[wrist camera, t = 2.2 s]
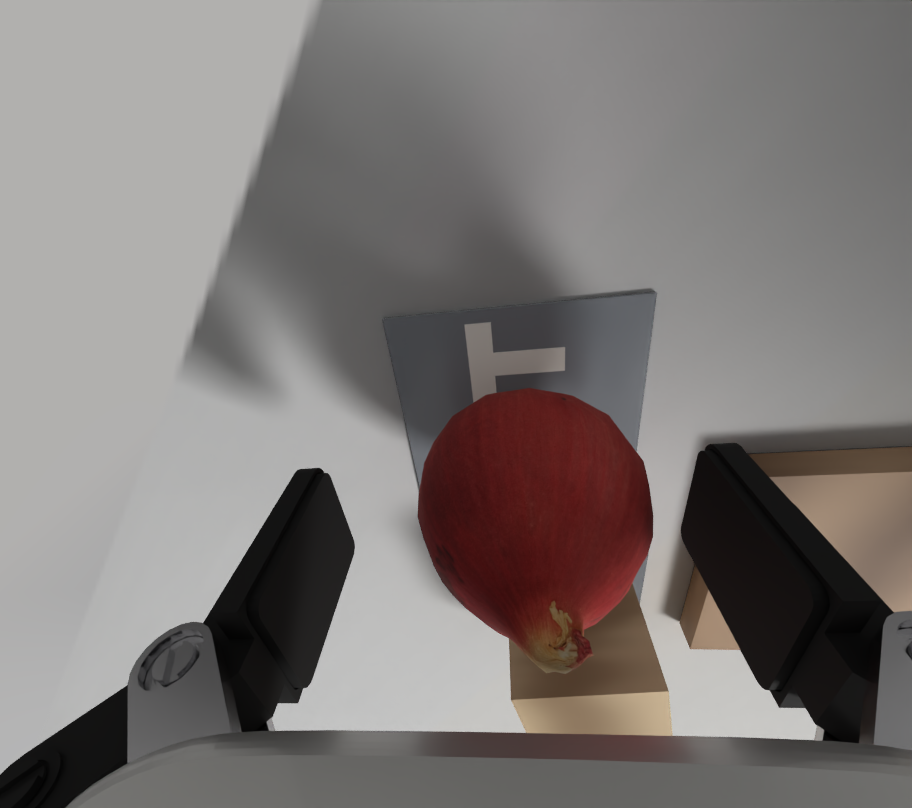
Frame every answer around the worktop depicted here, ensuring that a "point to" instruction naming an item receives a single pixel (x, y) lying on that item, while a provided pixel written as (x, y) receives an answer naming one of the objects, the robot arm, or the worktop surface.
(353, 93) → the worktop surface
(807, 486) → the board
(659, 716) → the oak block
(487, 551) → the onion
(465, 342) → the tile
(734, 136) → the worktop surface
